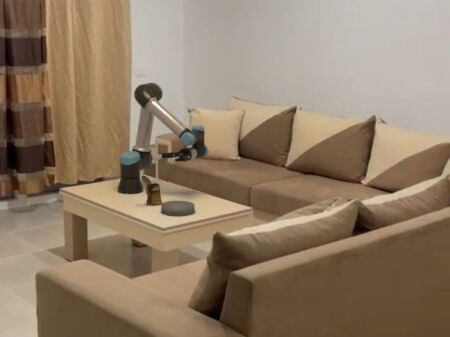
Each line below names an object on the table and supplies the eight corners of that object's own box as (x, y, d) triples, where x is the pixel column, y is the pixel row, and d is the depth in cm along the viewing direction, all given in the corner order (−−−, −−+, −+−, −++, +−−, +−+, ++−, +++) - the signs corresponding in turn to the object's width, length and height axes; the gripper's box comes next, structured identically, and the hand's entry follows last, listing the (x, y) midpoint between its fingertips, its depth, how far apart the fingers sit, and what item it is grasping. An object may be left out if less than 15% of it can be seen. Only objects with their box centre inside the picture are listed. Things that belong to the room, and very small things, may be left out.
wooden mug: (137, 205, 416) (136, 173, 412) (153, 201, 426) (153, 170, 423) (148, 208, 411) (148, 176, 407) (165, 203, 421) (165, 172, 417)
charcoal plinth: (160, 207, 411) (160, 200, 411) (193, 207, 413) (193, 200, 413) (161, 216, 394) (161, 209, 393) (195, 216, 396) (195, 208, 395)
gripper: (203, 163, 430) (178, 168, 414) (172, 158, 445) (146, 163, 429) (203, 150, 428) (177, 155, 412) (171, 145, 444) (146, 150, 428)
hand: (161, 159), depth 421 cm, fingers open, 13 cm apart
